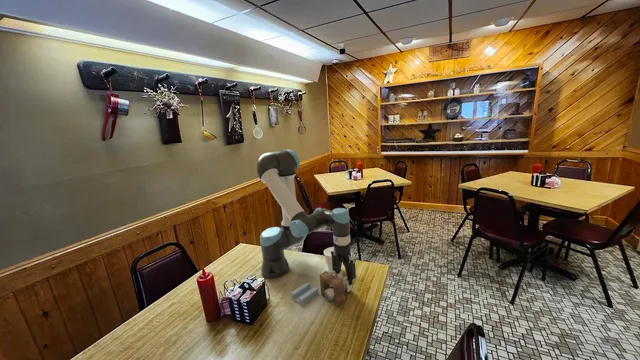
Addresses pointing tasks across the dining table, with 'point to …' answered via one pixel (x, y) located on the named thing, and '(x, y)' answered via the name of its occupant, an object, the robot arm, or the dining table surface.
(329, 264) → the cup
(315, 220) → the robot arm
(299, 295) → the cradle
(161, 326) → the dining table surface
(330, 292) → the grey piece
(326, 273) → the brown arch block
